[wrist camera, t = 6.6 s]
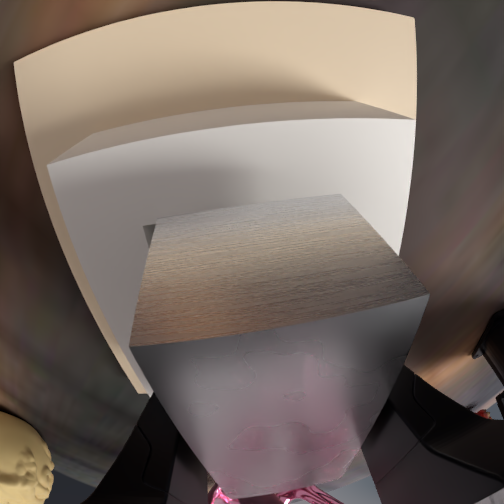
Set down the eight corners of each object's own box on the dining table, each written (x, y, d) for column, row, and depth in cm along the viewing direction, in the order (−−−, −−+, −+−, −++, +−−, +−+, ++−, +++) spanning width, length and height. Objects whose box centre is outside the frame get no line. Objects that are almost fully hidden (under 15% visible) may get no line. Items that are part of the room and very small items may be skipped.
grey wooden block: (295, 335, 15) (341, 478, 9) (214, 349, 15) (230, 499, 8) (294, 148, 10) (429, 294, 4) (173, 164, 10) (128, 346, 4)
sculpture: (61, 454, 27) (54, 527, 18) (-19, 422, 23) (-34, 490, 14) (56, 421, 23) (42, 518, 14) (-42, 378, 18) (-69, 464, 9)
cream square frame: (366, 343, 21) (395, 401, 16) (139, 379, 19) (134, 446, 15) (399, 19, 10) (481, 14, 5) (27, 61, 9) (-51, 70, 4)
